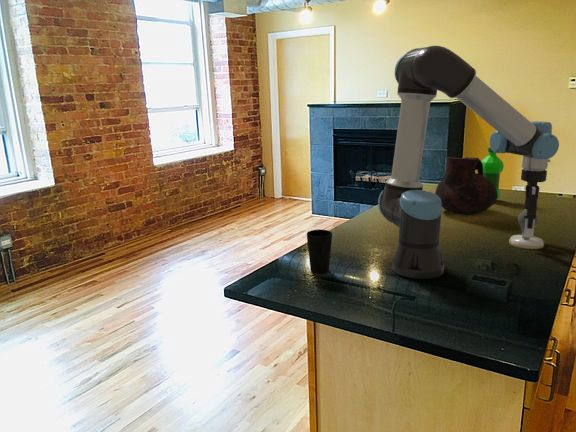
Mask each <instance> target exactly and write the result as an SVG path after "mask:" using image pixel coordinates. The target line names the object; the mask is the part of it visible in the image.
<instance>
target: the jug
mask: <svg viewBox="0 0 576 432" xmlns="http://www.w3.org/2000/svg"><path fill="white" fill-rule="evenodd" d="M445 158H446V159H445V160H446V167H445V171H444V175H443V179H441V181H440V182H439V183H437V186H436V188H435V192H434V194H436V195H438V196H439V197H440V199H441V207H442V209H444V210H445V211H448V212H449V213H452V214H455V215H462V216H474V215H478V214H480V213H481V214H482V213H484V212H485V211H488V209H490V208H491V207H492V206H494V204H495V203H496V202H497V196H498V193H497V189H496V187H495V185H494V184H493V182H492V181H490V180H489V179H487V178H486V177H484V176H483V164H482V162H481V161H482V160H481V159H480V158H479V157H468V156H467V157H449V156H446V157H445ZM476 171H477V173H476Z"/></svg>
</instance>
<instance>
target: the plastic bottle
mask: <svg viewBox="0 0 576 432" xmlns="http://www.w3.org/2000/svg"><path fill="white" fill-rule="evenodd" d="M487 153H488V155H486V156H485V157H484V158H483V159H482V160H480V161H481V162H482V164H483V176H484V177H486V178H487V179H489V180H490V181H492V182H493V184H494V185H495V187H496V189H497V193H498V196H497V199H499V198H500V196H501V190H500V188H499V187H500V176H501V173H502V172H503V171H504V167H505V166H504V162H503V161H502V160H501V158H499V157H498V156H497V153H495V152H493V151H492V150H491V148H490V147H488V148H487Z"/></svg>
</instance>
